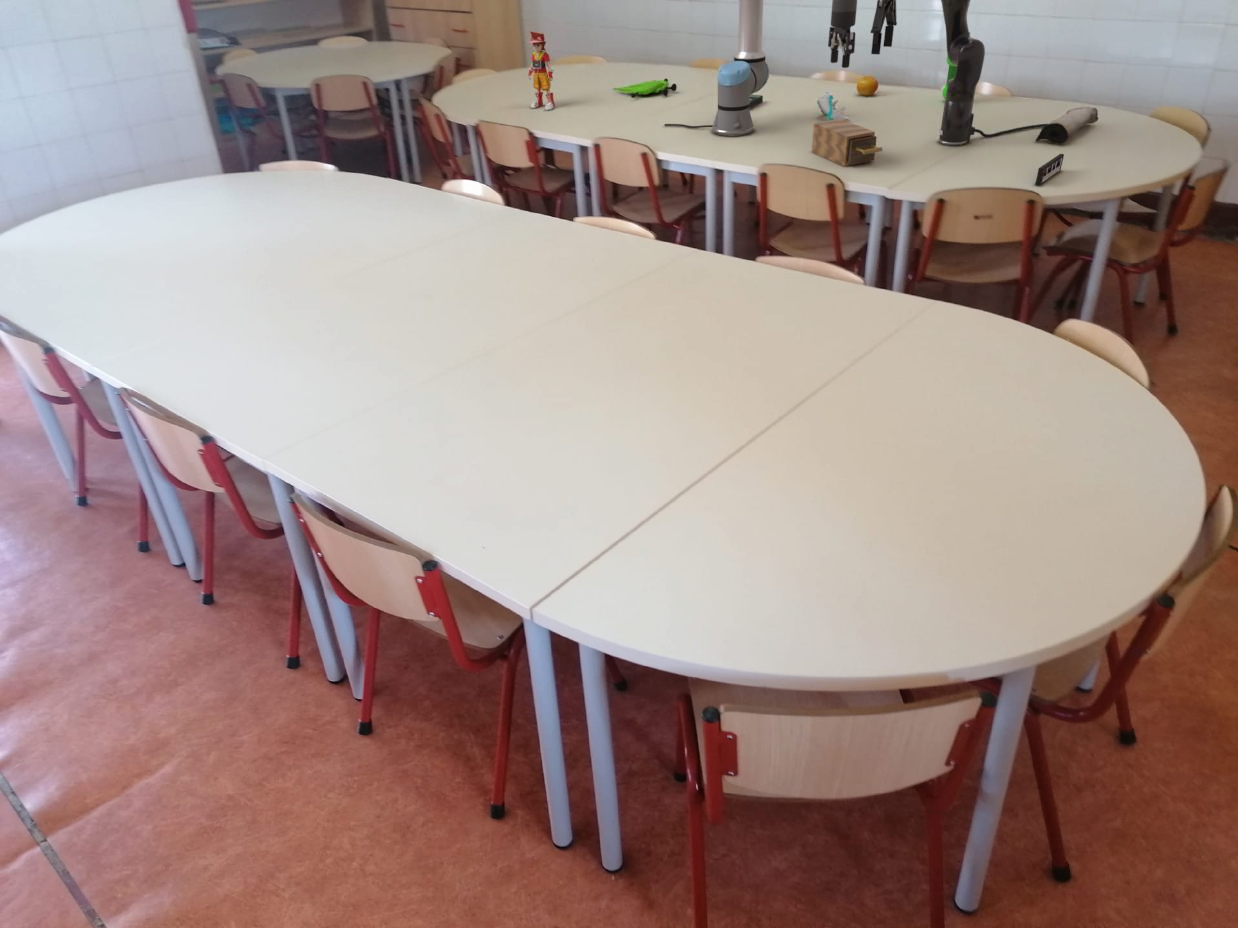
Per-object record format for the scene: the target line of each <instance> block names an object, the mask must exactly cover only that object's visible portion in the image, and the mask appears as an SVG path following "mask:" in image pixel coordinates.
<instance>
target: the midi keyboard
mask: <svg viewBox="0 0 1238 928" xmlns="http://www.w3.org/2000/svg"><path fill="white" fill-rule="evenodd" d="M1064 157H1065V153H1059V154H1058V155H1056V156H1055V157H1052V159H1051V160H1049V161H1047V162H1045V164H1042V165H1041V166H1039V167H1038V169H1037V175H1036V179H1035V186H1040V185H1042V183H1044V182H1045V181H1047V180H1048V179H1049V178H1051V177H1052V176H1054V175H1055V174H1056V173H1058V172H1060V171H1061V170H1062V165H1063V161H1064Z"/></svg>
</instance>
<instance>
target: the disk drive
mask: <svg viewBox="0 0 1238 928" xmlns="http://www.w3.org/2000/svg"><path fill="white" fill-rule="evenodd" d="M763 100H764V95H761V94H751V95H750V97H749V110H750V109H752V108H753V107H755V106H757V105H759V104H761V103H762V102H763Z"/></svg>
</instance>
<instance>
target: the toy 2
mask: <svg viewBox="0 0 1238 928" xmlns="http://www.w3.org/2000/svg"><path fill="white" fill-rule="evenodd" d="M669 85H670V83H669V79H668V78H664V79H663V80H649V81H644V82H640V83H634V84H629V85H627V86H621V87H613V88H612V89H613V90H616V91H619V92H623V93H627V94H628V93H629V94H631V95H630V96H631V98H632V99H634V98H636V96H637V95H650V94H652V93H654V94H658V93H662V95H663V96H665V97H667V96H668V95H669V90H671V91H672V92H676V91H677V84H676V83H672V84H671V86H669Z"/></svg>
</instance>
